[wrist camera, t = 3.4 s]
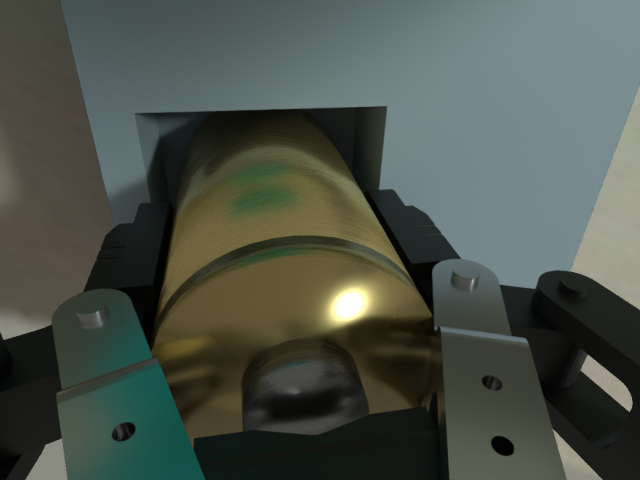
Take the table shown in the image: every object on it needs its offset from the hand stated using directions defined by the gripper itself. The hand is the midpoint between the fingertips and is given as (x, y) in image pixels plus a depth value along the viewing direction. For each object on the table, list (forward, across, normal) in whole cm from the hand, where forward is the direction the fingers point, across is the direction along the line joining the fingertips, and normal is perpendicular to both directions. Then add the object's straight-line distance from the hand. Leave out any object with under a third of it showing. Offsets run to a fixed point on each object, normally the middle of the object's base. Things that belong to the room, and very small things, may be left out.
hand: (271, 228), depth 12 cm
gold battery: (+3, 0, 0) cm, 3 cm away
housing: (+5, -3, 0) cm, 6 cm away
